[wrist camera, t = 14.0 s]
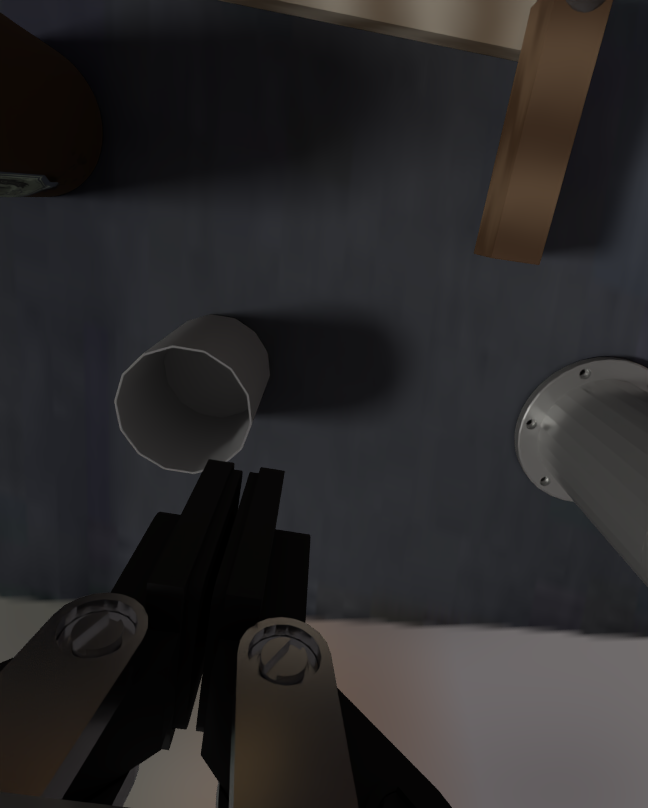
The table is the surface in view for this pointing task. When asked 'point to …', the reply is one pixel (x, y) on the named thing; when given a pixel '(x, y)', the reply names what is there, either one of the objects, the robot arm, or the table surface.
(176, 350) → the cup
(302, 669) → the robot arm
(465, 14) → the stool seat
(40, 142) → the olive oil
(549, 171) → the folding leg
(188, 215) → the table surface
